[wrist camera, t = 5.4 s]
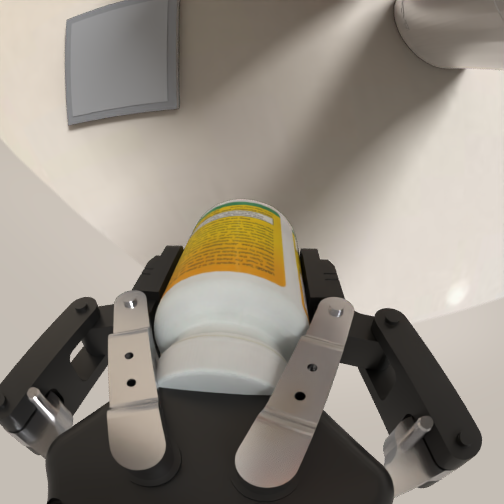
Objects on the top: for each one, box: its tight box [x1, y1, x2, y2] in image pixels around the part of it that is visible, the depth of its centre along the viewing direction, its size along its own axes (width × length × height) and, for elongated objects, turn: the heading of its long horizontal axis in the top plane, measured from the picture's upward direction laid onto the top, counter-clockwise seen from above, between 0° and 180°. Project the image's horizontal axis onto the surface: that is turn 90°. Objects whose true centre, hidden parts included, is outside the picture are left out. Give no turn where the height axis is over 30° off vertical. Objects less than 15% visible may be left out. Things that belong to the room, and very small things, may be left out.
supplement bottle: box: [154, 199, 310, 395], centre depth 11 cm, size 5×5×10 cm
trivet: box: [65, 0, 179, 125], centre depth 21 cm, size 12×12×1 cm
